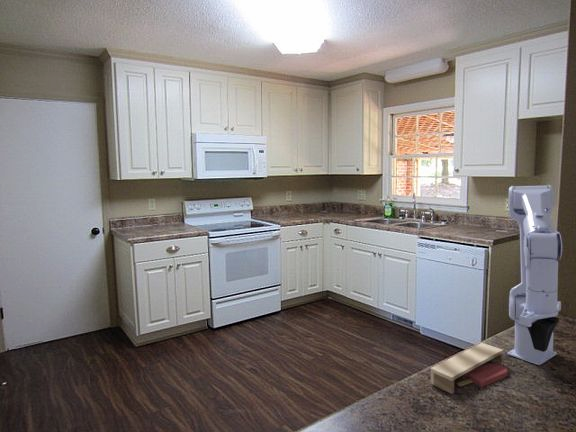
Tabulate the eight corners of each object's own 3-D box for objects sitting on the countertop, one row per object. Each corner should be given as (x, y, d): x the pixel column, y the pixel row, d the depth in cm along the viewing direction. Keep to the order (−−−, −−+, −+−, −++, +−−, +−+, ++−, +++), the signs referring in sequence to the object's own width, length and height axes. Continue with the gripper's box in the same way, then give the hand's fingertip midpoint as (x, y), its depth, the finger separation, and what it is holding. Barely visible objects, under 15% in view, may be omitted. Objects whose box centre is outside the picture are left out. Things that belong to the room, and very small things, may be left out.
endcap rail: (481, 356, 106) (481, 342, 106) (503, 364, 102) (503, 349, 101) (430, 383, 95) (430, 368, 94) (451, 393, 90) (451, 377, 90)
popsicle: (448, 376, 95) (493, 360, 101) (448, 383, 95) (493, 366, 102) (467, 387, 90) (513, 370, 97) (467, 394, 91) (513, 376, 97)
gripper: (537, 278, 94) (536, 334, 96) (504, 291, 86) (504, 353, 88) (572, 284, 89) (570, 344, 90) (541, 299, 80) (539, 365, 82)
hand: (540, 349), depth 89 cm, fingers closed
